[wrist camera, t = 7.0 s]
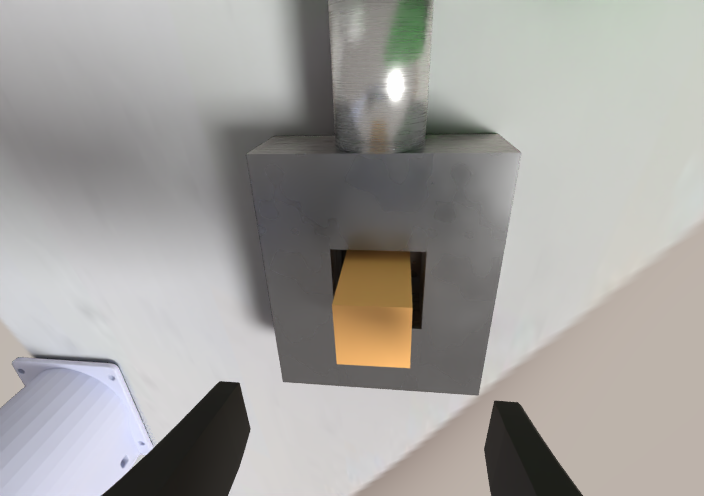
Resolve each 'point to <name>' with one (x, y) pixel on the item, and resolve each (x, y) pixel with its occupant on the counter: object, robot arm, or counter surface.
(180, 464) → the robot arm
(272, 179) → the grey slotted block
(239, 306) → the counter surface
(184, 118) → the counter surface
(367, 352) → the orange rectangular block
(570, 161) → the counter surface
